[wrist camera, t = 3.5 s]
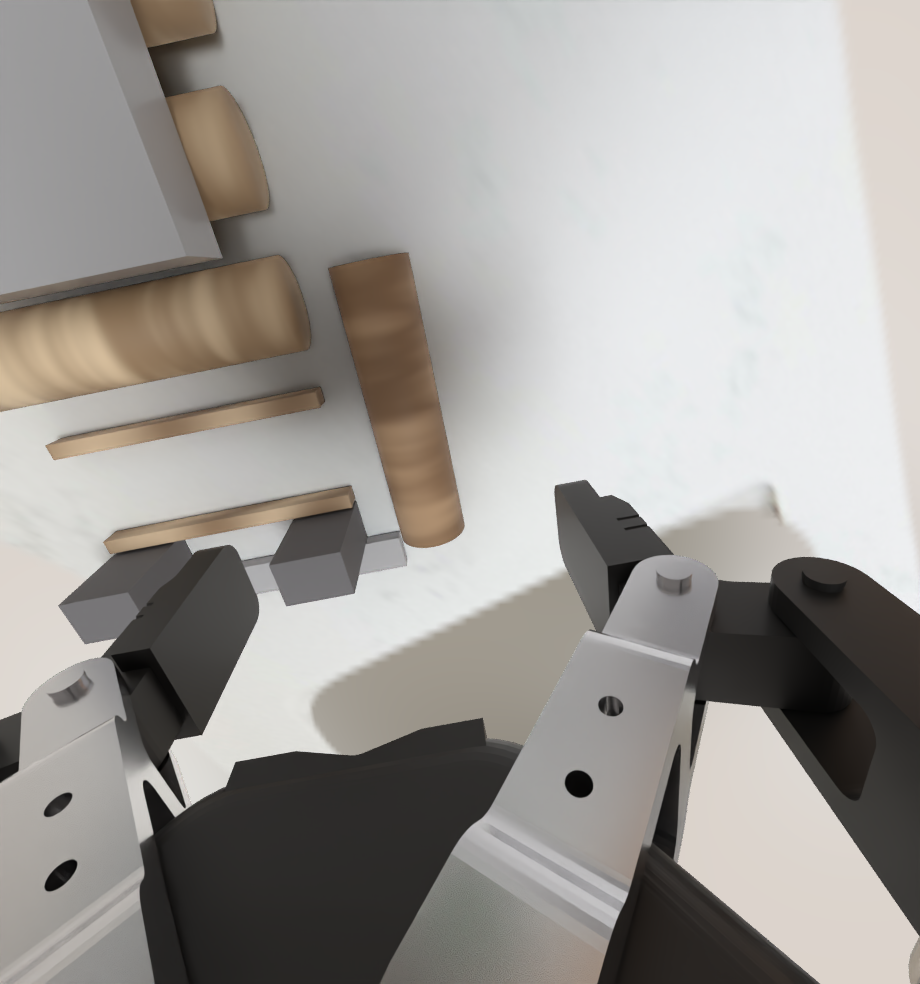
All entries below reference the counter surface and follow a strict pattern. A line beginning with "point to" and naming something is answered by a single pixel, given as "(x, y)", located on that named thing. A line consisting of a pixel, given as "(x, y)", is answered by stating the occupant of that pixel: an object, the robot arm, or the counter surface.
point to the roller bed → (175, 312)
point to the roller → (400, 395)
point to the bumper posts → (293, 569)
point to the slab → (88, 153)
